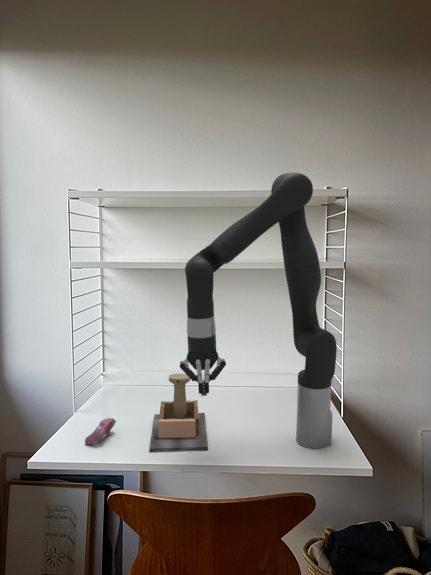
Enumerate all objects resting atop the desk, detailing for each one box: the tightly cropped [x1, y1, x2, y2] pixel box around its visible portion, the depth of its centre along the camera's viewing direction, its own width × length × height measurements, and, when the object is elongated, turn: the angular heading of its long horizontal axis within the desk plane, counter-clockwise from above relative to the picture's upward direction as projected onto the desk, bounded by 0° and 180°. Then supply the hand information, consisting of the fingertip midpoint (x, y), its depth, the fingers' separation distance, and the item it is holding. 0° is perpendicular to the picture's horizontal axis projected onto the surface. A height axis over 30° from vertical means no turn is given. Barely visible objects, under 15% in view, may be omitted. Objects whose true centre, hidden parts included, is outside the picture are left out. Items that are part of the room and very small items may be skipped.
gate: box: [153, 419, 196, 438], centre depth 136 cm, size 12×2×5 cm, turn 91°
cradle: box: [149, 400, 209, 453], centre depth 142 cm, size 16×22×6 cm
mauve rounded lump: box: [84, 416, 117, 446], centre depth 138 cm, size 10×5×7 cm, turn 166°
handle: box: [168, 373, 191, 419], centre depth 145 cm, size 5×6×15 cm
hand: (204, 394), depth 130 cm, fingers closed
